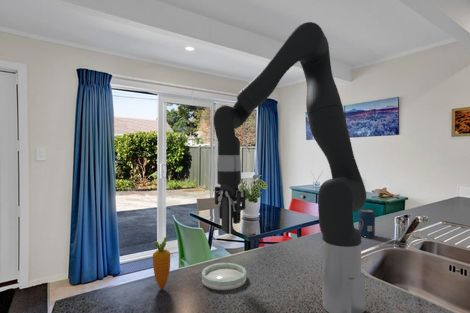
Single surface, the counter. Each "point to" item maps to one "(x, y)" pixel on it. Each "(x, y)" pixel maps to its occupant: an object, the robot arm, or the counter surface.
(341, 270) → the robot arm
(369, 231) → the soda can
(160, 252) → the carrot
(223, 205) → the battery charger
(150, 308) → the counter surface
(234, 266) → the dish
